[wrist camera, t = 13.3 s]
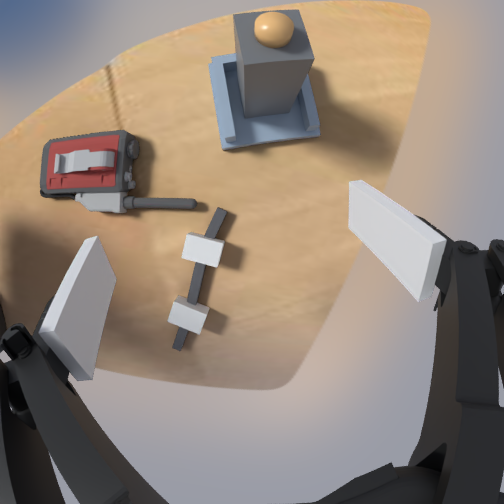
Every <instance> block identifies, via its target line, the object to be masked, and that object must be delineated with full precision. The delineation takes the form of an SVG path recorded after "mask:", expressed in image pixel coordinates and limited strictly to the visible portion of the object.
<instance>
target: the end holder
mask: <svg viewBox="0 0 504 504" xmlns="http://www.w3.org/2000/svg"><path fill="white" fill-rule="evenodd" d="M211 59H212V63H210V64H208V65H209V71H210V78H211V84H212V90H213V96H214V103H215V109H216V115H217V121H218V127H219V133H220V139H221V145H222V149H223V150H228V149H234V148H239V147H245V146H252V145H258V144H265V143H272V142H279V141H287V140H295V139H303V138H313V137H319V136H320V135H321V134H320V129H319V126H320V122H319V117H318V113H317V109H316V104H315V100H314V96H313V92H312V88H311V84H310V80H309V76H308V74H307V76H306V78H305V80H304V82H303V84H302V87H301V89H300V91H299V93H298V95H297V97H296V99H295V101H294V104H293V106H292V108H291V110H290V112H289V113H284V114H276V115H268V116H260V117H254V118H247V119H245V116H244V111H243V106H242V100H241V95H240V90H239V84H238V77H237V63H236V53H234V54H228V55H222V56H216V57H211Z"/></svg>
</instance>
